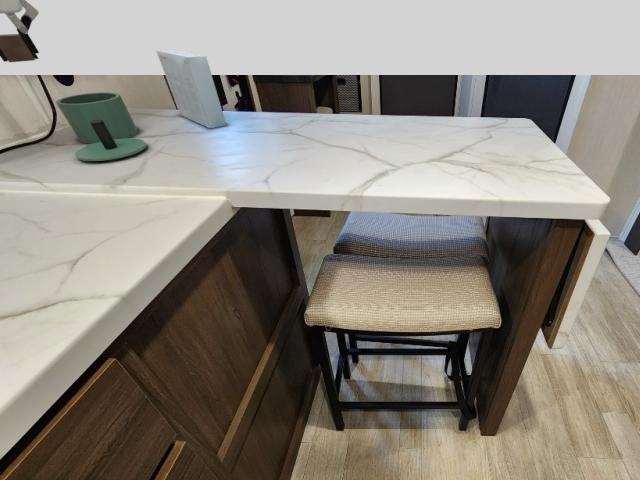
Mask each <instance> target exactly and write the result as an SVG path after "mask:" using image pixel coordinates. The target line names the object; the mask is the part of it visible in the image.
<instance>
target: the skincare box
mask: <svg viewBox="0 0 640 480" xmlns="http://www.w3.org/2000/svg"><path fill="white" fill-rule="evenodd" d="M156 54H157V57H158V59H159V63H160V65H161V68H162V70H163V72H164V75H165V78H166V81H167V84H168V86H169V90H170V91H171V94H172V97H173V99H174V102H175V105H176V108H177V111H178V114H179V115H180V116H182V117H184V118H186V119H189V120H190V121H193V122H195V123H197V124H199V125H201V126H204V127H206V128H208V129H214V128H218V127H223V126H227V122H226V118H225V115H224V112H223V109H222V105H221V102H220V99H219V96H218V92H217V88H216V85H215V82H214V79H213V78H214V77H213V74H212V71H211V68H210V65H209V61H208V58H207V56H206V55H202V54H197V53H193V52H188V51H184V50H179V49H157V50H156Z"/></svg>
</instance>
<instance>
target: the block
mask: <svg viewBox="0 0 640 480" xmlns="http://www.w3.org/2000/svg"><path fill="white" fill-rule="evenodd" d="M0 49H1V50H2V52H3V53H4V55H5V56H6V58H7V59H8V61H7V62H8V63H20V62H31V61H36V59H35V58H34V57H33V56H32V54H31V52H30V51H29V49H28V47H27V46H26V44H25V43H24V41H23V39H22V38H21V36H20V35H18V33H9V34H0Z"/></svg>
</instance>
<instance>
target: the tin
mask: <svg viewBox="0 0 640 480" xmlns="http://www.w3.org/2000/svg"><path fill="white" fill-rule="evenodd" d="M55 104H56V106H57V107H58V109H59V110H60V112H61V113H62V115H63V116H64V119H65V120H66V121H67V123H68V125H69V126H70V128H71V129H72V131H73V132H74V134H75V136H76V137H77V139H78V140H79V141H80V142H81V143H83V144H87V145H90V144H93V143H97V142H101V141H100V139H99V138H98V136H97V134H96V132H95V131H94V129H93V127H92V126H91V124H90V122H91V121H95V120H103V122H104V123H105V125H106V127H107V129H108V131H109V132H110V134H111V136H112V138H113V139H123V138H133V137H135V136H136V135H138V133H139V131H138V128H137V126H136V124H135V122H134V120H133V117H132V116H131V114H130V111H129V110H128V108H127V106H126V104H125V101H124V100H123V98H122V95H121V94H119V93H116V92H109V91H107V92H105V91H104V92H102V91H101V92H88V93H87V92H86V93H79V94H73V95H70V96H64V97H61V98H60V99H57V100H55Z"/></svg>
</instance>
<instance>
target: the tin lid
mask: <svg viewBox="0 0 640 480" xmlns="http://www.w3.org/2000/svg"><path fill="white" fill-rule="evenodd" d="M90 124H91V126H92V127H93V129H94V131H95V132H96V134H97V136H98V138H99V139H100V141H101V142H97V143H93V144H87V145H85V146H82V147H80V148H78V149H77V150H76V151H75V152H74V156H75V158H76V159H78V160H80V161H84V162H100V161H101V162H102V161H103V162H104V161H111V160H118V159H123V158H126V157H129V156H132V155H135V154H137V153H140V152H142V151H143V150H145V149H146V148H147V142H146V141H145V140H144V139H141V138H133V137H130V138H123V139H113V138H112V136H111V134H110V132H109V131H108V129H107V127H106V125H105V123H104V122H103V120H95V121H91V122H90Z"/></svg>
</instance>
